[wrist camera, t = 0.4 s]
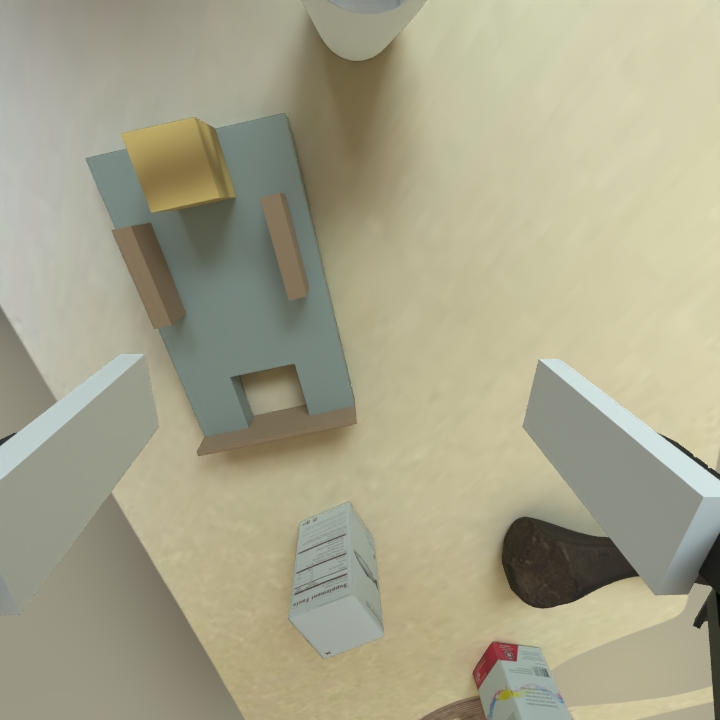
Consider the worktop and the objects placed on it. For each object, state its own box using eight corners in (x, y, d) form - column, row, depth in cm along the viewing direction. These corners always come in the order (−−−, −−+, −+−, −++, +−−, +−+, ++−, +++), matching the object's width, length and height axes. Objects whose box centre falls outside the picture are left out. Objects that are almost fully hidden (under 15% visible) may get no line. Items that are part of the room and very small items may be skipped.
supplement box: (375, 537, 51) (387, 638, 40) (324, 558, 52) (321, 662, 41) (350, 498, 48) (355, 594, 37) (297, 520, 49) (285, 621, 38)
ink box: (470, 672, 64) (498, 771, 53) (493, 639, 61) (527, 736, 50) (517, 679, 65) (553, 776, 54) (541, 647, 62) (585, 743, 51)
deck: (102, 160, 33) (55, 153, 28) (288, 118, 33) (278, 103, 27) (212, 428, 43) (195, 461, 38) (354, 399, 43) (357, 428, 38)
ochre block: (153, 142, 31) (120, 133, 26) (215, 128, 30) (194, 116, 26) (177, 210, 33) (151, 212, 28) (236, 197, 32) (219, 197, 28)
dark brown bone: (485, 532, 55) (656, 512, 60) (513, 621, 49) (701, 591, 54) (519, 506, 47) (714, 485, 52) (558, 610, 40) (776, 574, 45)
